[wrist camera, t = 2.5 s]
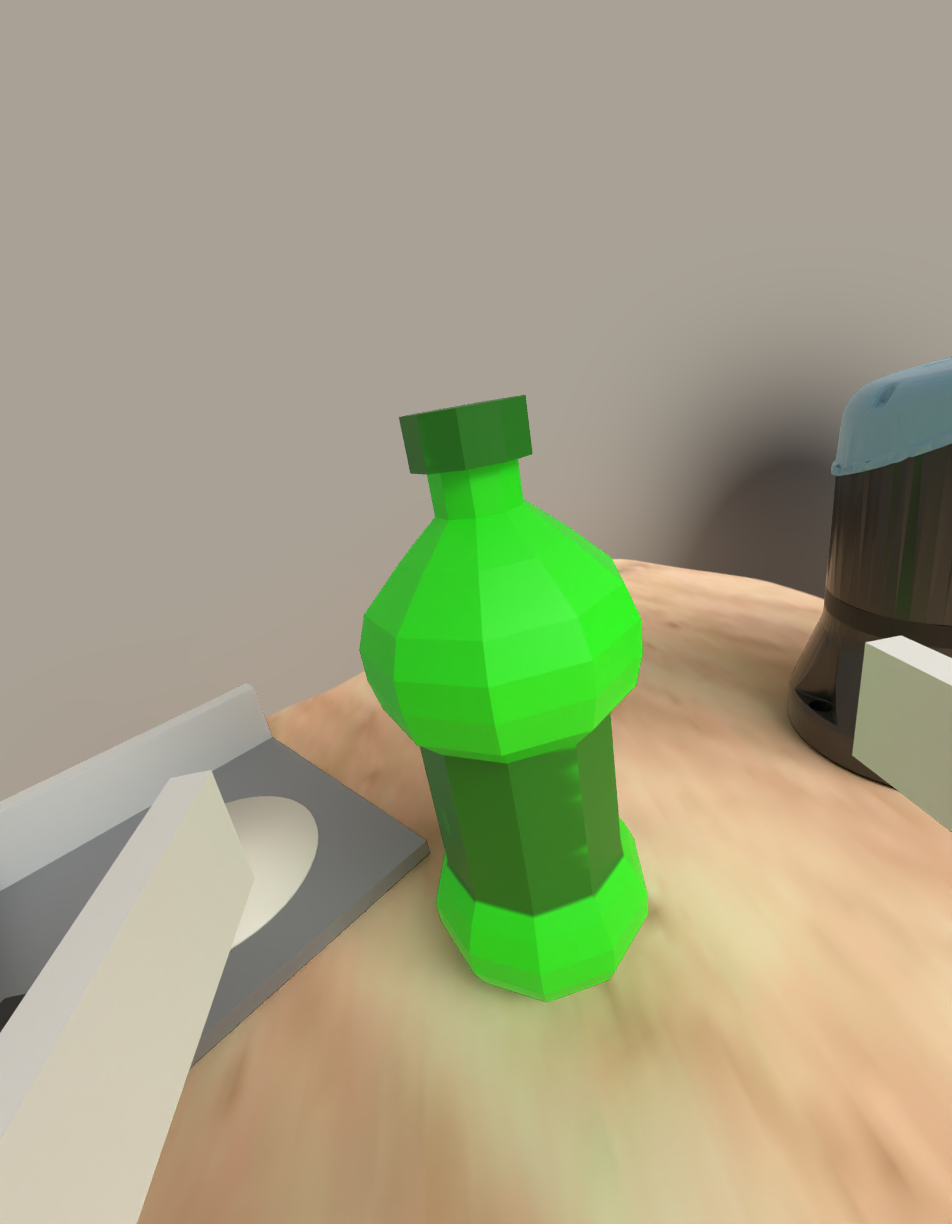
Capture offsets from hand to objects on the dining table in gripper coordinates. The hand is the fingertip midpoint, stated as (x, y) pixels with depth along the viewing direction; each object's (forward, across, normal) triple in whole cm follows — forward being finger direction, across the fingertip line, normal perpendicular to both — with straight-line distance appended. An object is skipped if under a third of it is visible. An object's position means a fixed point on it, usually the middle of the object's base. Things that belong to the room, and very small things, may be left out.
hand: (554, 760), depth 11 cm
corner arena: (+18, -21, -18) cm, 33 cm away
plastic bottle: (+10, 0, -18) cm, 21 cm away
